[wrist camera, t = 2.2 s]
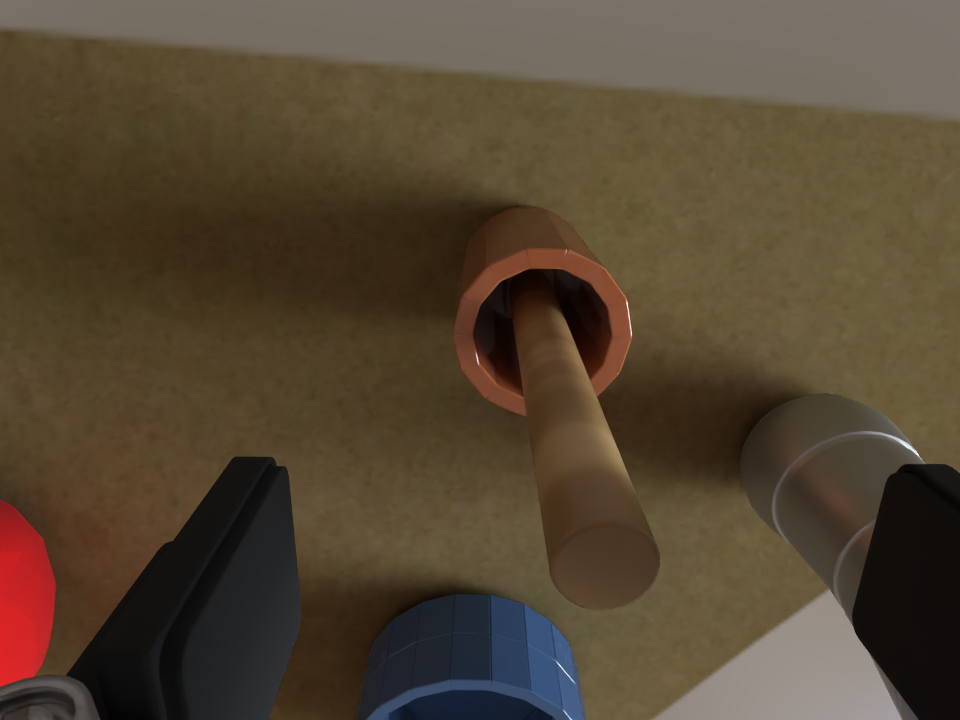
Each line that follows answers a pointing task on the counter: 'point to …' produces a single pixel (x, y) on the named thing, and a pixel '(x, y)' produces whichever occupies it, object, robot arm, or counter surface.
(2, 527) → the tomato
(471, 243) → the crock
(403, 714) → the bowl
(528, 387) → the stirring stick
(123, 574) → the counter surface
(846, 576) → the silver metal bottle
